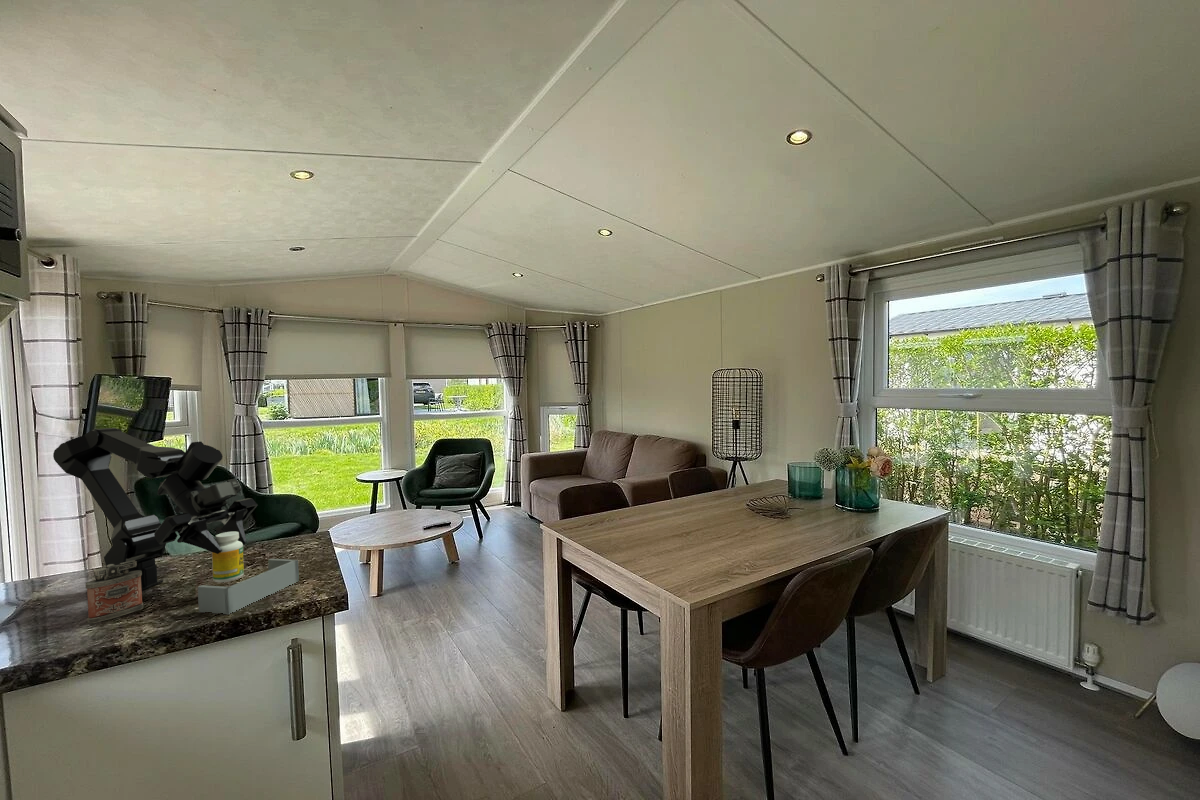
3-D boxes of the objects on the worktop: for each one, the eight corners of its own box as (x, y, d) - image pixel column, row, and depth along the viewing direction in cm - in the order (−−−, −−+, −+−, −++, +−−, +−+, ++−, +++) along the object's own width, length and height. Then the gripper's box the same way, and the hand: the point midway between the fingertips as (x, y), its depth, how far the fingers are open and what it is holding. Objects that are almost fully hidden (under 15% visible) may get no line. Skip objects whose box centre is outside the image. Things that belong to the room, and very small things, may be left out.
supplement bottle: (212, 578, 106) (211, 533, 106) (243, 571, 110) (241, 528, 110) (213, 585, 102) (211, 539, 102) (244, 578, 106) (243, 534, 105)
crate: (198, 611, 97) (197, 586, 97) (272, 580, 114) (271, 558, 114) (229, 614, 96) (227, 588, 96) (298, 581, 112) (297, 559, 112)
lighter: (90, 624, 93) (87, 572, 93) (85, 621, 95) (82, 569, 95) (146, 608, 100) (143, 559, 100) (140, 605, 102) (137, 556, 102)
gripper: (163, 477, 97) (209, 535, 95) (249, 463, 116) (290, 512, 113) (134, 515, 99) (178, 573, 97) (223, 495, 117) (263, 544, 115)
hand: (232, 548), depth 106 cm, fingers closed on supplement bottle, 5 cm apart
